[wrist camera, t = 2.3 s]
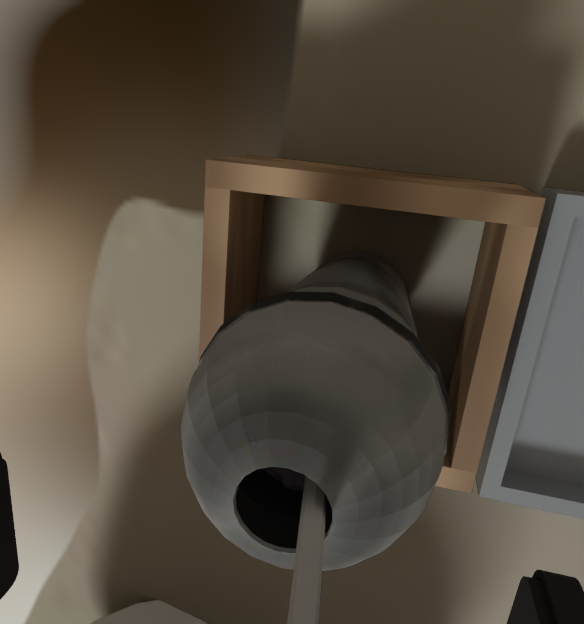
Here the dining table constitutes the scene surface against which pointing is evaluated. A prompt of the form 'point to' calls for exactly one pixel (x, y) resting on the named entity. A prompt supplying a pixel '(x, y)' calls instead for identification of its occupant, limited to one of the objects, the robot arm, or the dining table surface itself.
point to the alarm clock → (149, 615)
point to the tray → (543, 375)
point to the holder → (394, 196)
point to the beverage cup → (317, 424)
